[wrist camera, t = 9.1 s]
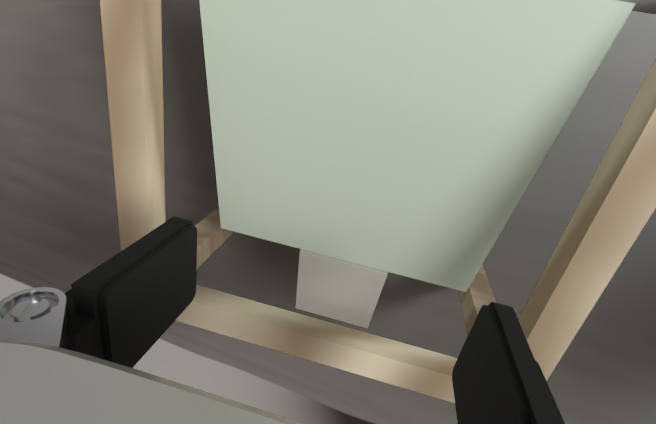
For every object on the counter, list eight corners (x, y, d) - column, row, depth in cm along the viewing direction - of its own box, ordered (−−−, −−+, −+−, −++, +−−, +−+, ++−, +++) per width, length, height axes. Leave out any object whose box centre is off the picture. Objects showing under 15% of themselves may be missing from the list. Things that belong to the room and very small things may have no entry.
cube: (387, 274, 19) (367, 328, 23) (396, 214, 23) (378, 270, 27) (299, 251, 20) (295, 308, 24) (322, 196, 23) (315, 253, 27)
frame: (607, -32, 18) (886, -159, 8) (474, 279, 26) (520, 422, 16) (247, -89, 20) (78, -251, 10) (228, 215, 28) (125, 305, 18)
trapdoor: (673, -44, 10) (701, -42, 9) (478, 279, 20) (481, 298, 19) (185, -118, 12) (160, -124, 11) (217, 212, 21) (206, 226, 20)
